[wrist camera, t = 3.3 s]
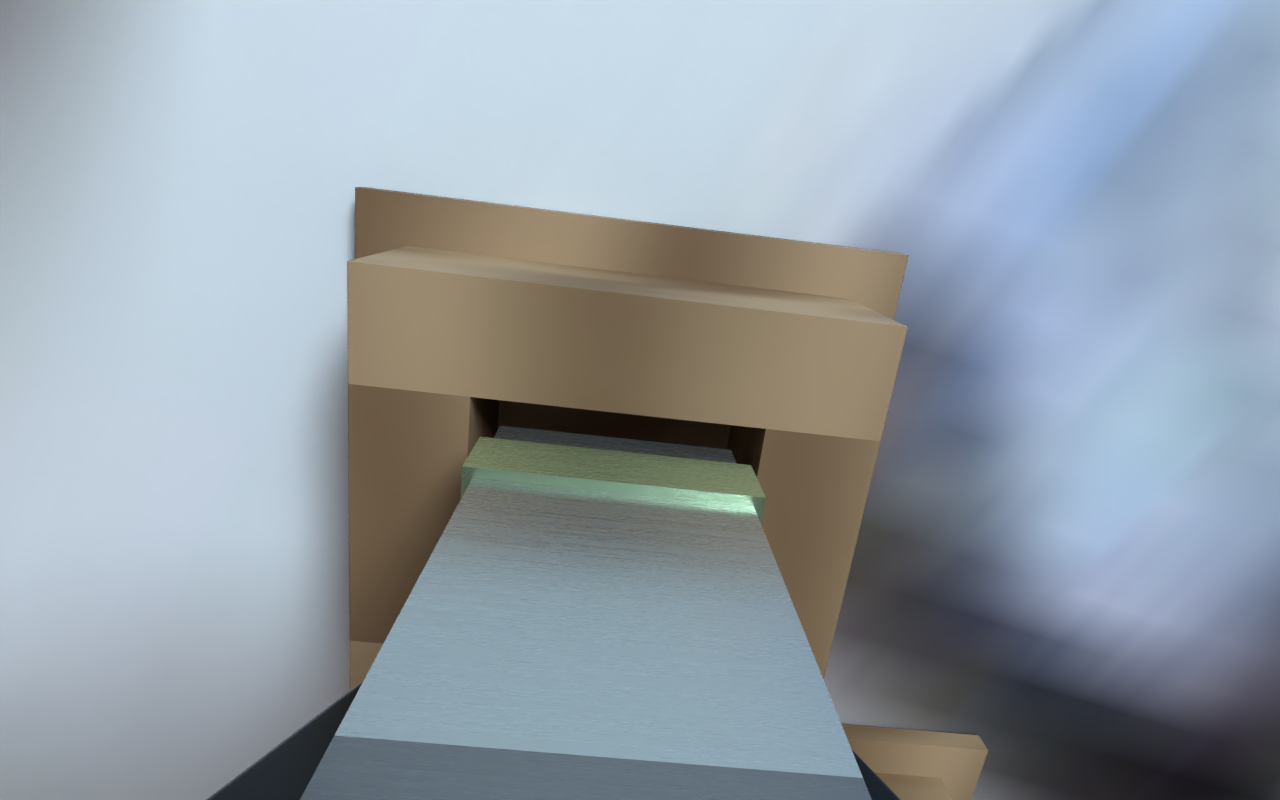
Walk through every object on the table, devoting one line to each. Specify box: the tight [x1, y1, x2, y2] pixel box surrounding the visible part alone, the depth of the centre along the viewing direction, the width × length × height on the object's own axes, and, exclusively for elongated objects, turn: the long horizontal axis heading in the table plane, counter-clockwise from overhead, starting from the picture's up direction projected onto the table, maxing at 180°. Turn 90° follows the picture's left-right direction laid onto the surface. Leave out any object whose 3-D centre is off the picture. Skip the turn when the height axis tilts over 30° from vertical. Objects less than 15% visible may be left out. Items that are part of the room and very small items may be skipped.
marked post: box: [300, 425, 872, 800], centre depth 9 cm, size 4×4×8 cm
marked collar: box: [347, 187, 909, 690], centre depth 13 cm, size 11×11×4 cm
